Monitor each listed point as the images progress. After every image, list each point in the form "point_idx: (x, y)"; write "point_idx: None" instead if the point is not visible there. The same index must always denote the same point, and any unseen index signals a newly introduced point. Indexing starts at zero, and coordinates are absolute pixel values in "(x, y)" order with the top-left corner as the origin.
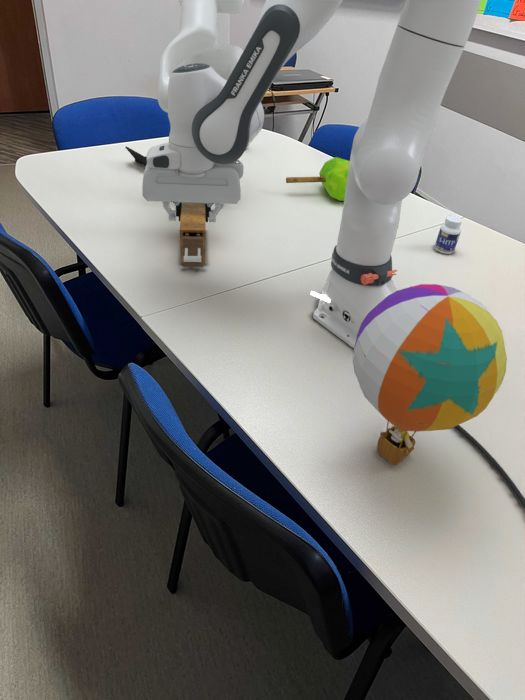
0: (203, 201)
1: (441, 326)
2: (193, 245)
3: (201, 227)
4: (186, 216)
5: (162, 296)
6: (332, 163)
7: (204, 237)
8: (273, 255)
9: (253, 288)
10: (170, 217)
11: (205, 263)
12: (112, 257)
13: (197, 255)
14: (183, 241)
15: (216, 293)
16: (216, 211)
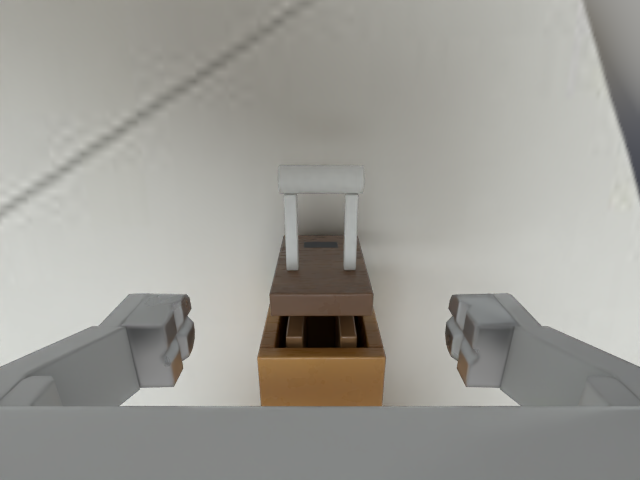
0: (144, 419)
1: None
2: (317, 276)
3: (278, 378)
4: None
5: (439, 34)
6: None
7: (267, 332)
8: (49, 334)
9: (83, 109)
10: (507, 304)
11: None
12: (590, 302)
13: (301, 255)
14: (365, 285)
15: (225, 65)
16: (67, 346)
